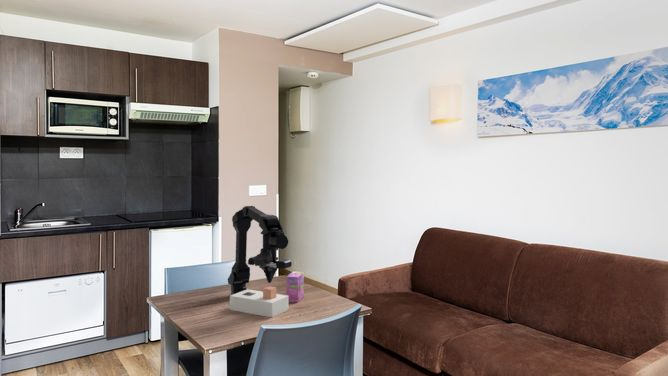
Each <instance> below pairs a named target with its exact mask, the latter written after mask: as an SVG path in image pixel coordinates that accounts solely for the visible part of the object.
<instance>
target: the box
mask: <svg viewBox="0 0 668 376" xmlns="http://www.w3.org/2000/svg"><path fill="white" fill-rule="evenodd" d="M285 292H286V294H285V295H287V296H289V303H299V302H300V301H301V299H303V297H305V272H304V271H291V273H289V274H288V275H287V276H286V291H285Z"/></svg>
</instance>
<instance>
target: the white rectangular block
mask: <svg viewBox="0 0 668 376" xmlns="http://www.w3.org/2000/svg"><path fill="white" fill-rule="evenodd" d="M247 292H251V293H255V294H254V295H251V296H246V295H242V294H244V293H247ZM229 296H230V297H229V310H230V311H235V312H241V313H246V314H252V315H257V316H262V317H268V318H274V317H276V316H278V315H281V314H282V313H284V312H287V311H288V310H290V307H289V303H290V302H289V296H287V295H286V294H280V293H276V298H274V299H265V298H263V291H261V290H255V289H248V288H246V290H244V291H241V292H239V293H236V294H233V295H231V294H230V295H229Z"/></svg>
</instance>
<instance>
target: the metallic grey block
mask: <svg viewBox="0 0 668 376" xmlns="http://www.w3.org/2000/svg"><path fill="white" fill-rule="evenodd" d="M254 294H255V293H251V292H247V293H244V294H242V295H246V296H251V295H254Z"/></svg>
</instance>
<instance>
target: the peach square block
mask: <svg viewBox="0 0 668 376" xmlns="http://www.w3.org/2000/svg"><path fill="white" fill-rule="evenodd" d="M262 292H263V298H265V299H274V298H276V294H277V287H275V286H270V285H269V286H266V287H263V288H262Z"/></svg>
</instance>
